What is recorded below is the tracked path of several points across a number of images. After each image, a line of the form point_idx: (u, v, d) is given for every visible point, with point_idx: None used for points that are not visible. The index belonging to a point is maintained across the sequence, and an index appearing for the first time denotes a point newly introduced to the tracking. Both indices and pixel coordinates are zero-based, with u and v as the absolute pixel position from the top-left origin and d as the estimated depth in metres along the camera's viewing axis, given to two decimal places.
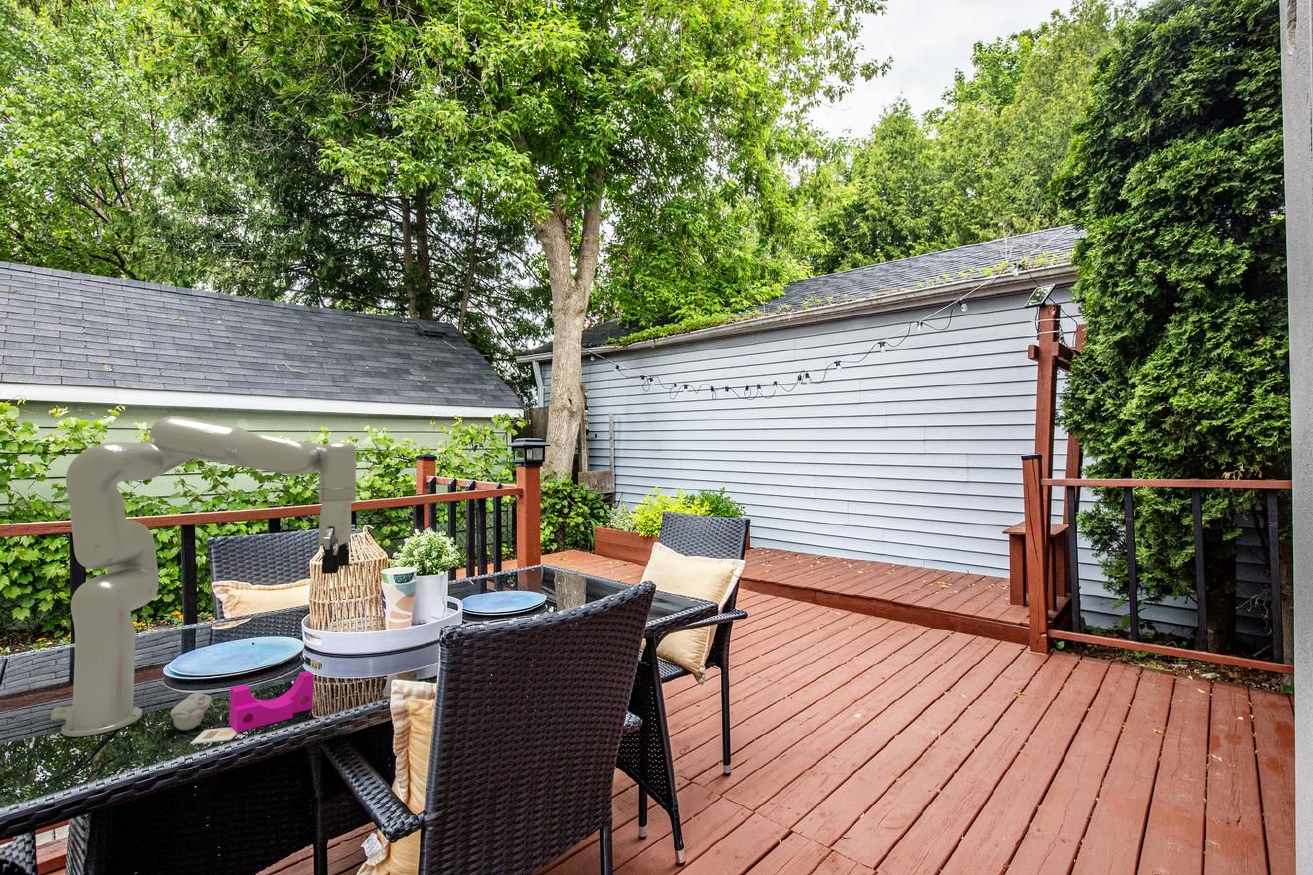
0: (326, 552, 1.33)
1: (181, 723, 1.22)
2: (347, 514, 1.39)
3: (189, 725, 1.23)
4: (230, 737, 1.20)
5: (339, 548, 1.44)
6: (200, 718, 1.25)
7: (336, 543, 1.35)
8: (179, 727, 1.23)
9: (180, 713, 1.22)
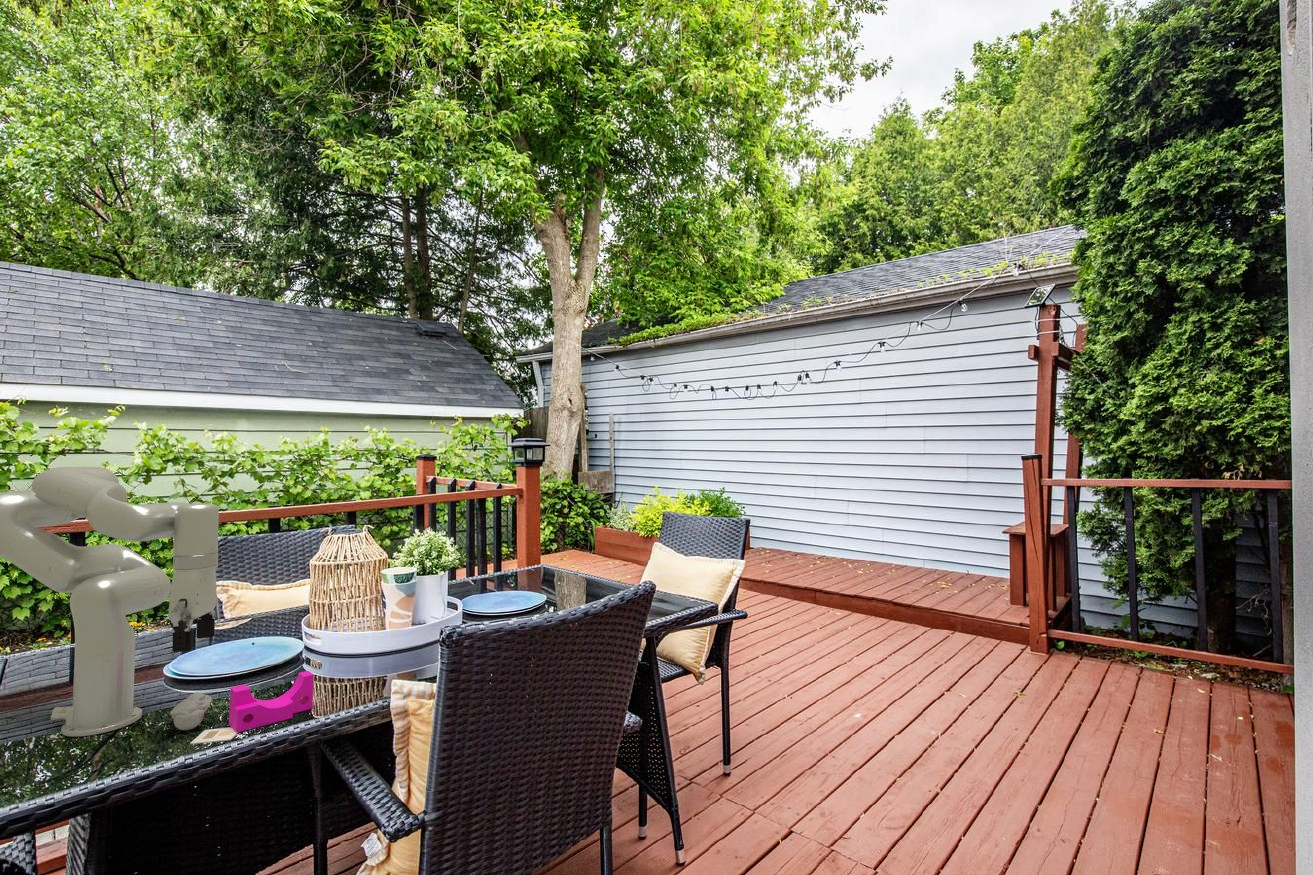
0: (175, 629, 1.19)
1: (182, 723, 1.22)
2: (206, 583, 1.25)
3: (189, 725, 1.23)
4: (230, 737, 1.20)
5: (203, 618, 1.30)
6: (200, 718, 1.25)
7: (189, 617, 1.22)
8: (179, 727, 1.23)
9: (180, 713, 1.22)
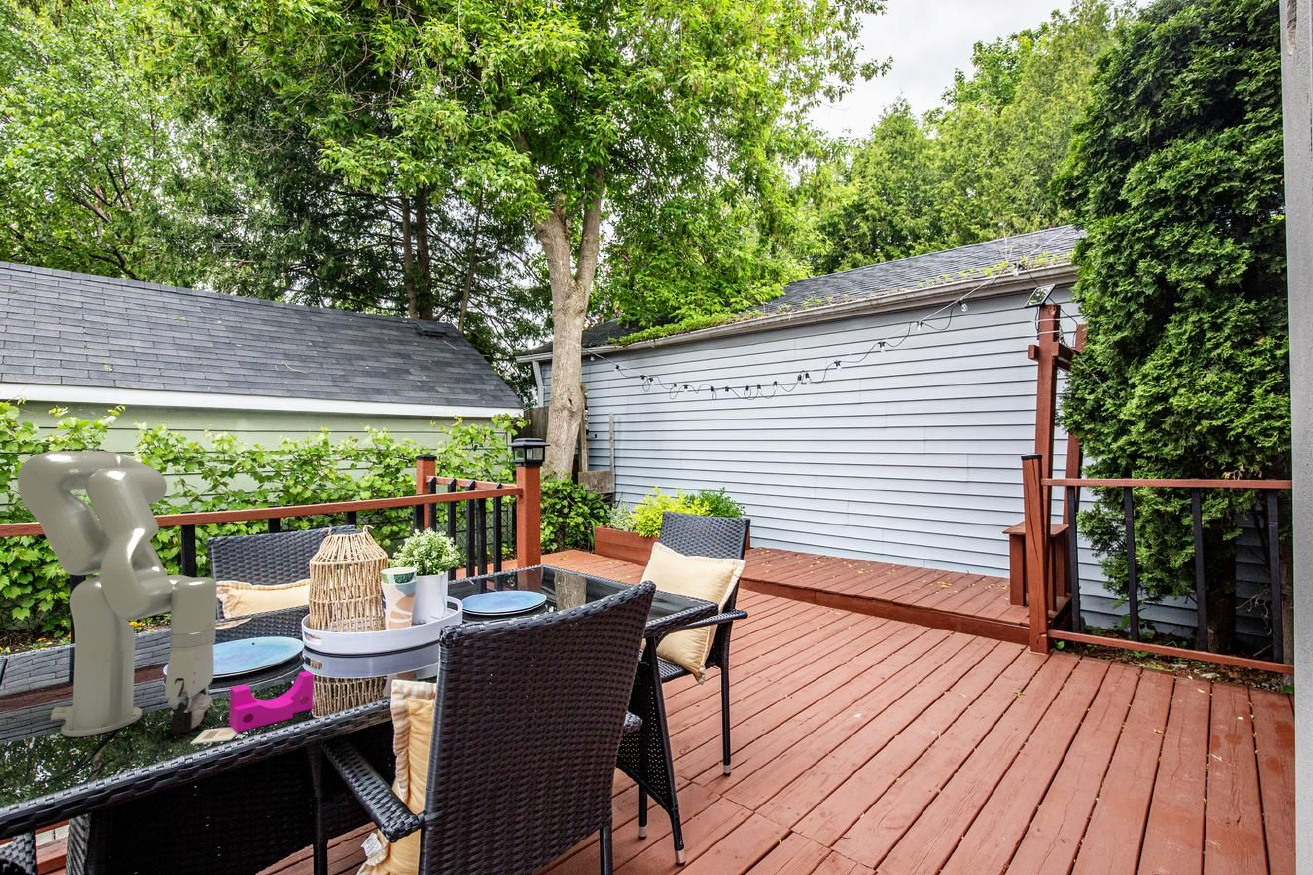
0: (175, 711, 1.20)
1: None
2: (203, 659, 1.25)
3: None
4: (230, 737, 1.20)
5: None
6: (200, 718, 1.25)
7: (188, 698, 1.22)
8: None
9: None
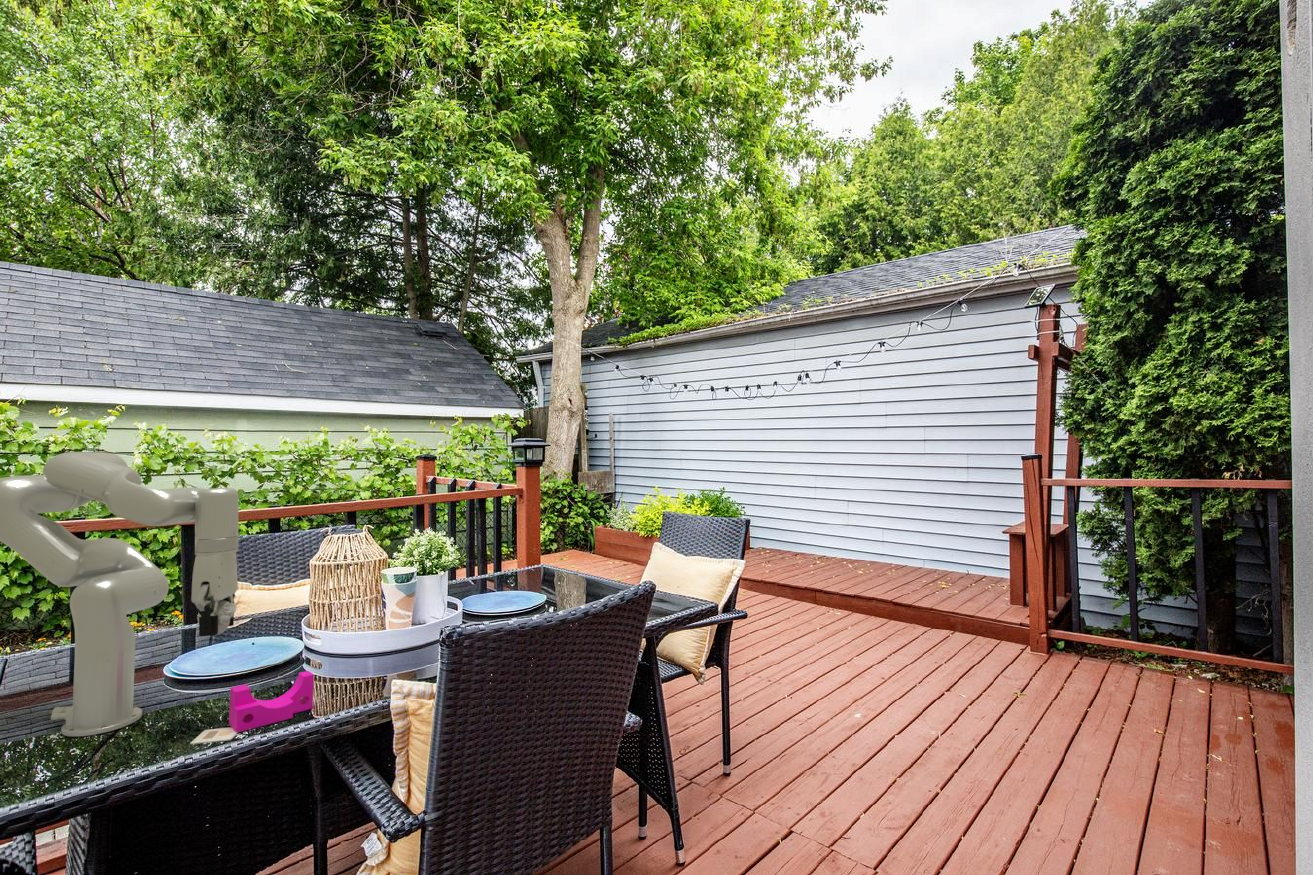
0: (202, 613, 1.22)
1: None
2: (227, 566, 1.27)
3: None
4: (230, 737, 1.20)
5: None
6: (226, 624, 1.26)
7: (213, 602, 1.24)
8: None
9: None
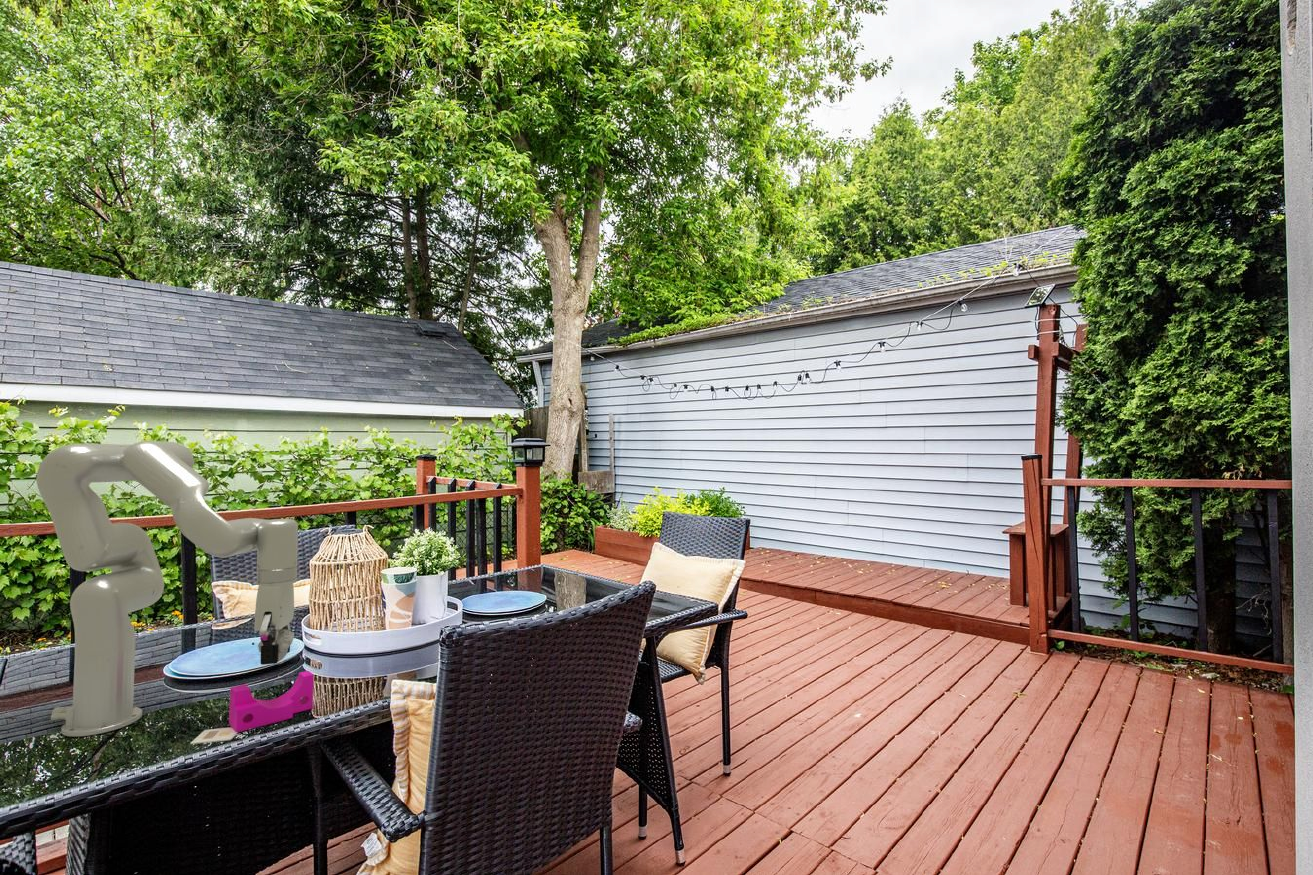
0: (264, 643, 1.25)
1: None
2: (287, 596, 1.30)
3: None
4: (230, 737, 1.20)
5: None
6: (285, 652, 1.30)
7: (275, 631, 1.27)
8: None
9: None
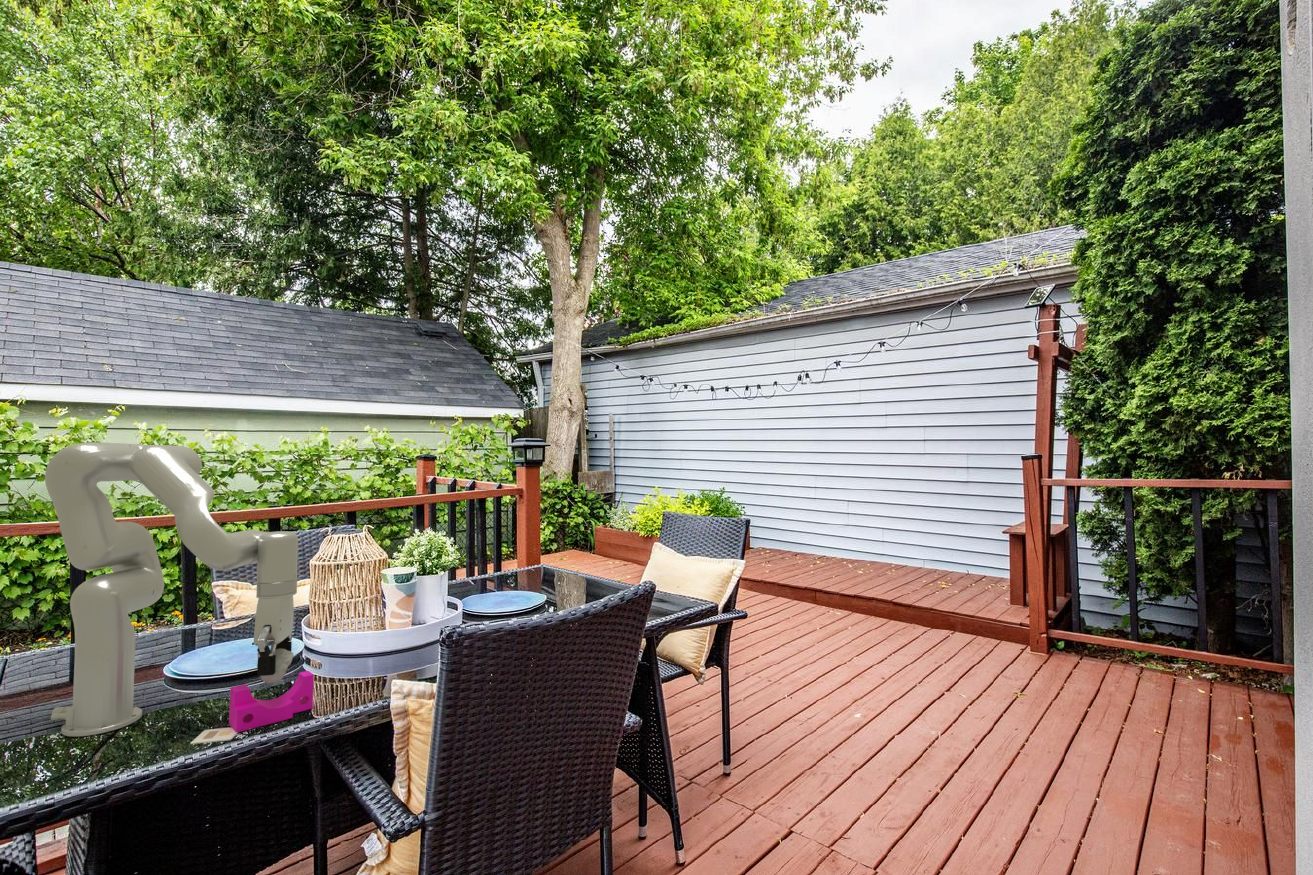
0: (261, 654, 1.24)
1: (268, 676, 1.28)
2: (287, 609, 1.30)
3: (274, 678, 1.29)
4: (230, 737, 1.20)
5: (280, 641, 1.35)
6: (284, 672, 1.30)
7: (273, 642, 1.27)
8: (265, 680, 1.28)
9: None
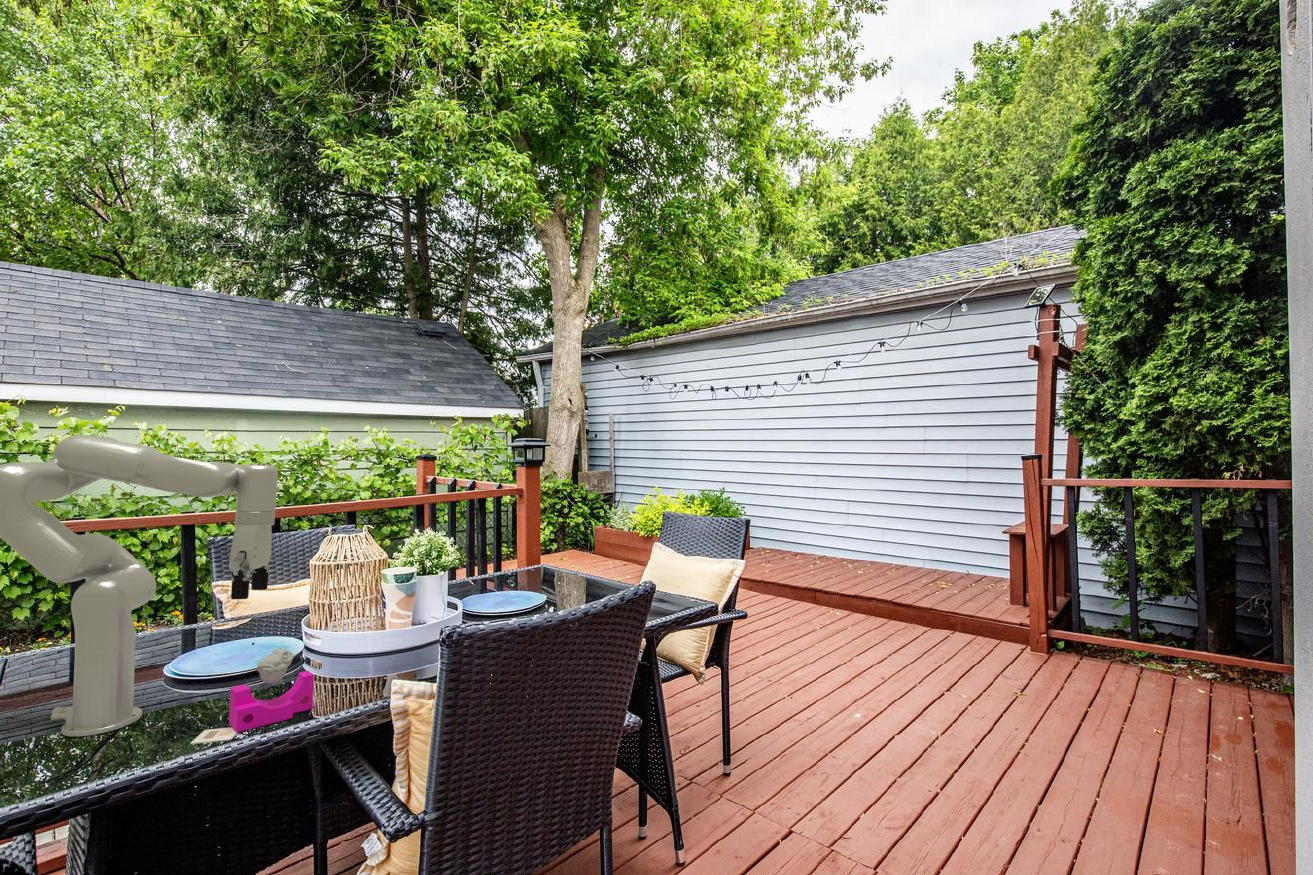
0: (235, 578, 1.29)
1: (268, 676, 1.28)
2: (263, 538, 1.36)
3: (274, 678, 1.29)
4: (230, 737, 1.20)
5: (257, 571, 1.40)
6: (284, 672, 1.30)
7: (247, 568, 1.32)
8: (265, 680, 1.28)
9: (266, 666, 1.28)
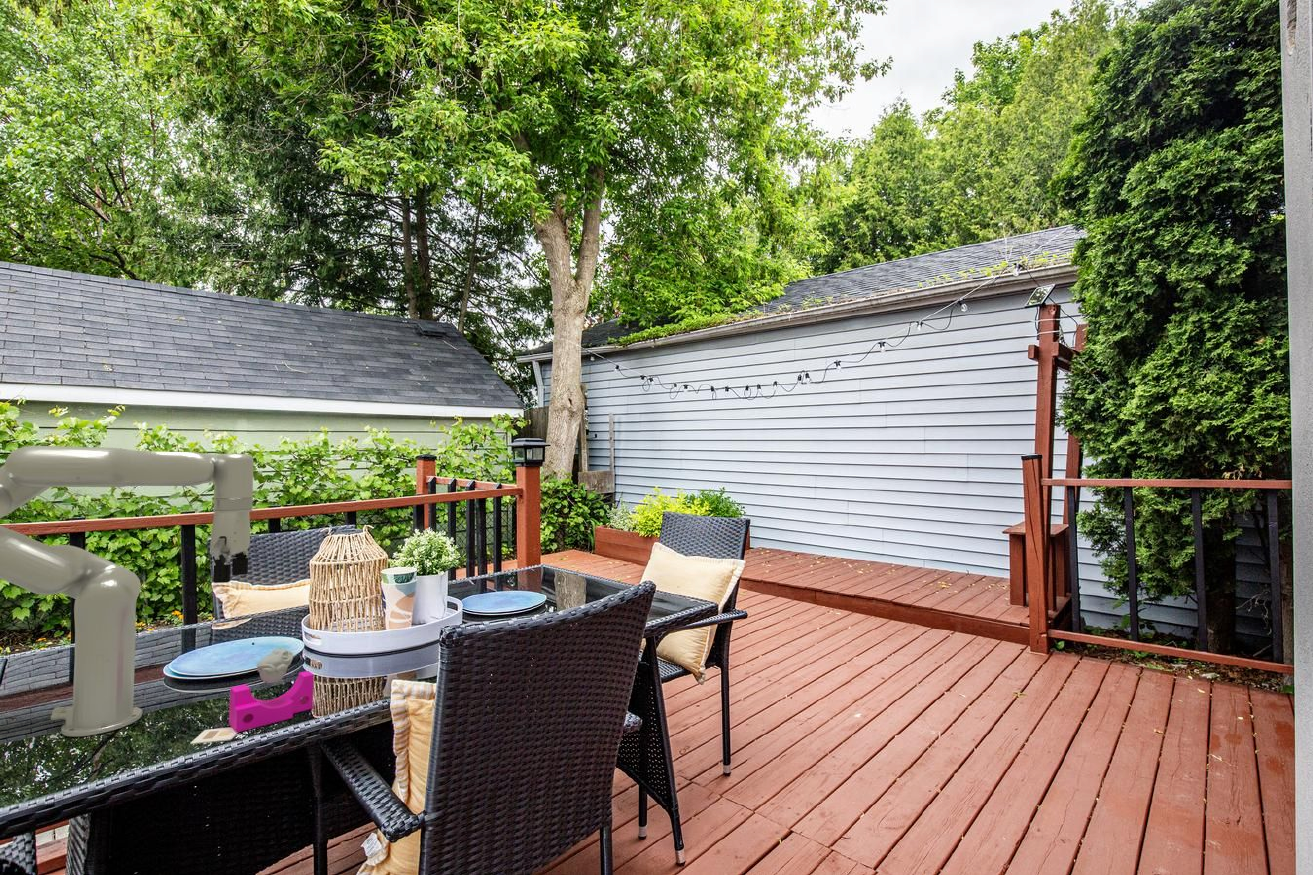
0: (216, 562, 1.34)
1: (268, 676, 1.28)
2: (242, 524, 1.41)
3: (274, 678, 1.29)
4: (230, 737, 1.20)
5: (237, 557, 1.45)
6: (284, 672, 1.30)
7: (228, 553, 1.37)
8: (265, 680, 1.28)
9: (266, 666, 1.28)
